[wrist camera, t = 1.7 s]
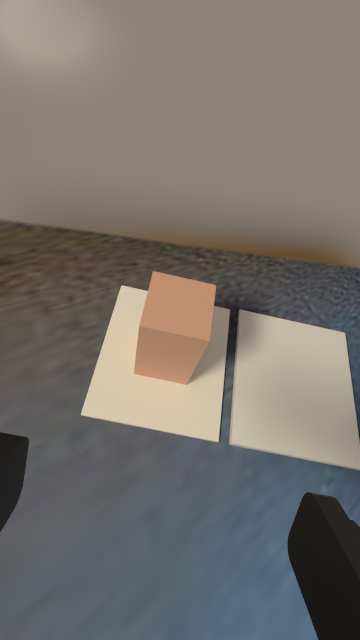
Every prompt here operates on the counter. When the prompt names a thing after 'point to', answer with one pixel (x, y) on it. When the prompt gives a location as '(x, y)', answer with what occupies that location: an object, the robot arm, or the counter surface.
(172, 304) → the block
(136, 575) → the counter surface
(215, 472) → the counter surface
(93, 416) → the cream tile
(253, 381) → the beige board
